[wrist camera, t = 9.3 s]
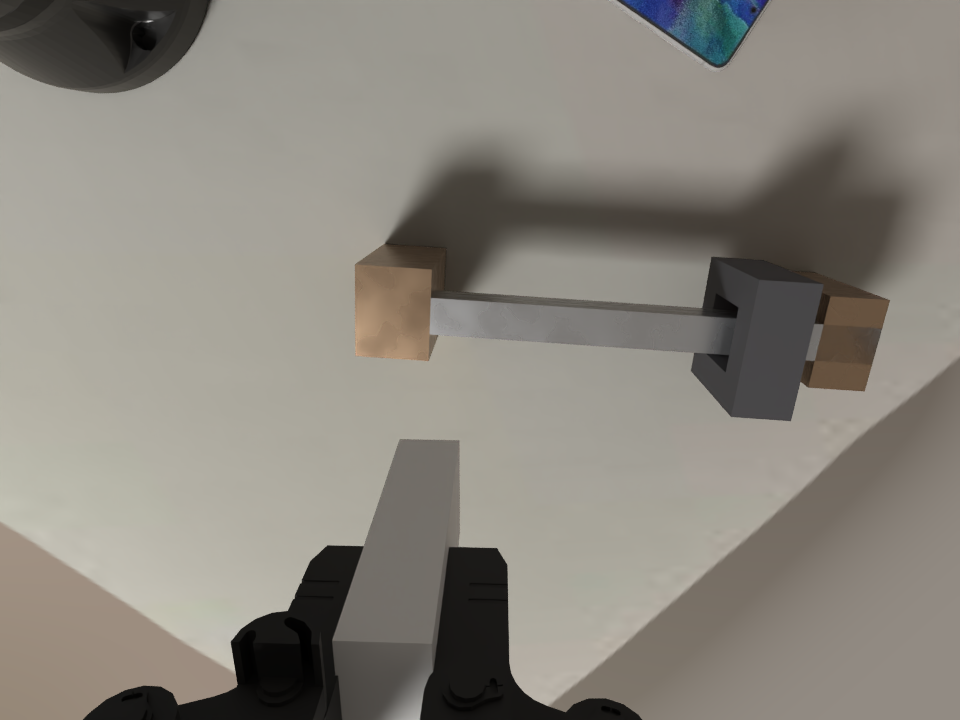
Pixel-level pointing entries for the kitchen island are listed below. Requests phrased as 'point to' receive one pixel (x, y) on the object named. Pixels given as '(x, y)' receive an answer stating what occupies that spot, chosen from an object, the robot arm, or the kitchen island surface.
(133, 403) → the kitchen island surface
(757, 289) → the grey rectangular sleeve
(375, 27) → the kitchen island surface
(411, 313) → the sliding collar rod
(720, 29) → the smartphone
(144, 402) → the kitchen island surface
